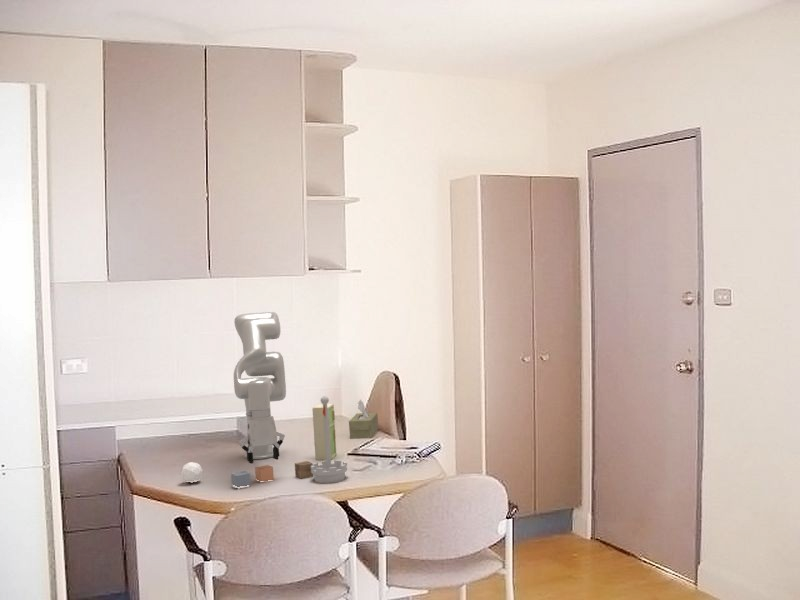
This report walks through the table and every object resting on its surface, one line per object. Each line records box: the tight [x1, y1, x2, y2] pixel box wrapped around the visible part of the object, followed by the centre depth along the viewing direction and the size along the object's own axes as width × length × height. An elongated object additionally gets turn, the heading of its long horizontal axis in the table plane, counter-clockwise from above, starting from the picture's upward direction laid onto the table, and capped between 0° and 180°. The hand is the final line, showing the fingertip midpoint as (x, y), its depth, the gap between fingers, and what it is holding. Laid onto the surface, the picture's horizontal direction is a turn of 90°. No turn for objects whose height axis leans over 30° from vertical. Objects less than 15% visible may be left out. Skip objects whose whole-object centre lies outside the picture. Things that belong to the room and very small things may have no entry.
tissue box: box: [348, 399, 379, 440], centre depth 403 cm, size 19×10×16 cm, turn 172°
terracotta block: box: [254, 464, 275, 481], centre depth 329 cm, size 5×5×5 cm
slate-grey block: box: [231, 470, 252, 487], centre depth 321 cm, size 5×5×5 cm
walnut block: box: [294, 460, 314, 480], centre depth 331 cm, size 5×5×5 cm
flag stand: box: [311, 395, 348, 484], centre depth 324 cm, size 13×13×30 cm
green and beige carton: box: [312, 403, 337, 461], centre depth 359 cm, size 8×7×21 cm
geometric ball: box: [180, 461, 204, 482], centre depth 331 cm, size 8×8×8 cm
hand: (263, 460), depth 328 cm, fingers open, 9 cm apart
